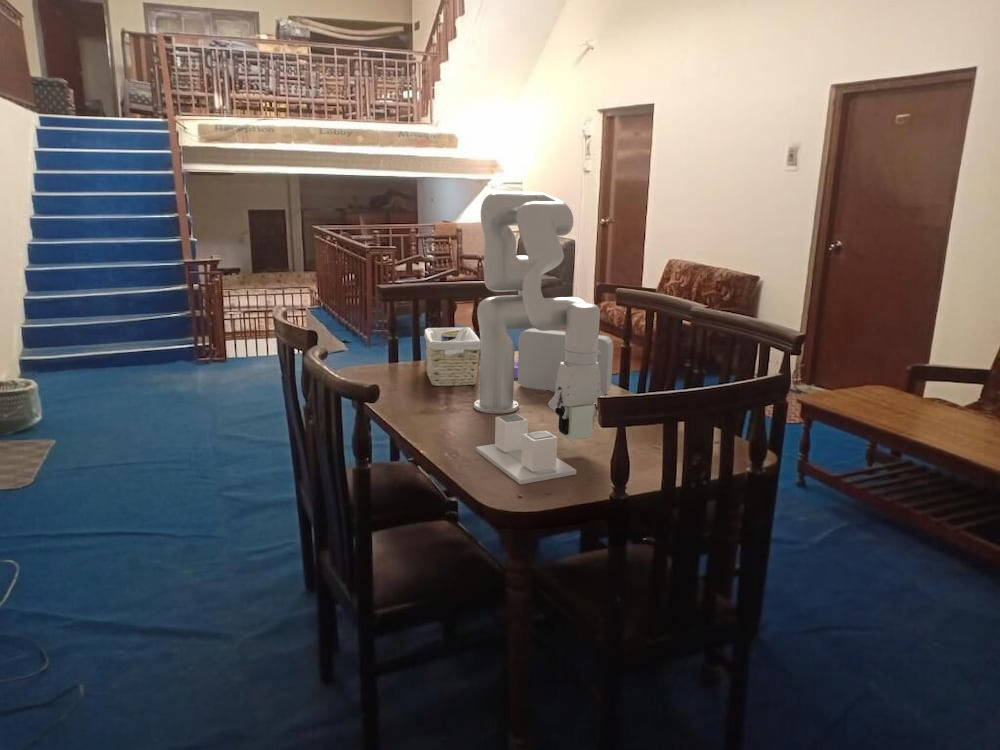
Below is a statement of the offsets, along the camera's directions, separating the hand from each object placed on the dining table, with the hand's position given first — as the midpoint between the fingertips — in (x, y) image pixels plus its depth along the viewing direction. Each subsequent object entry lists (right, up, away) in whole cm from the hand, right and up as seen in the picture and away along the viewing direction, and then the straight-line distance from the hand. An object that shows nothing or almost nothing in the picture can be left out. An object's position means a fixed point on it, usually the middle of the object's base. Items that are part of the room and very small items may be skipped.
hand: (575, 430), depth 173 cm
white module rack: (-12, -7, -5) cm, 15 cm away
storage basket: (-34, +12, +66) cm, 75 cm away
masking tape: (-10, +13, +72) cm, 74 cm away
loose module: (0, -1, 0) cm, 1 cm away
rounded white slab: (+2, +8, +54) cm, 55 cm away
